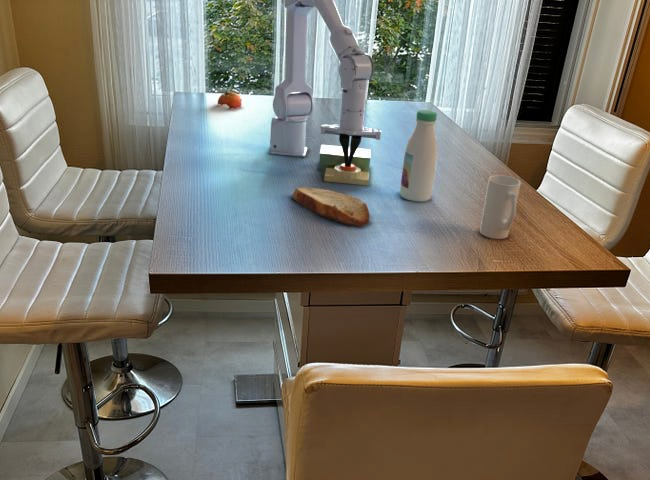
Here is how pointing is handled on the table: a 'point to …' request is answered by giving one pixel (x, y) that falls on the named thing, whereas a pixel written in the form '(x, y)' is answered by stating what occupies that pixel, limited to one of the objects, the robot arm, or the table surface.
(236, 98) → the tomato
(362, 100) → the robot arm
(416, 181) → the milk bottle
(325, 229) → the table surface
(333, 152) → the lid
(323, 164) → the box
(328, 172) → the switch block
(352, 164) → the switch
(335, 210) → the bread slice
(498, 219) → the mug
